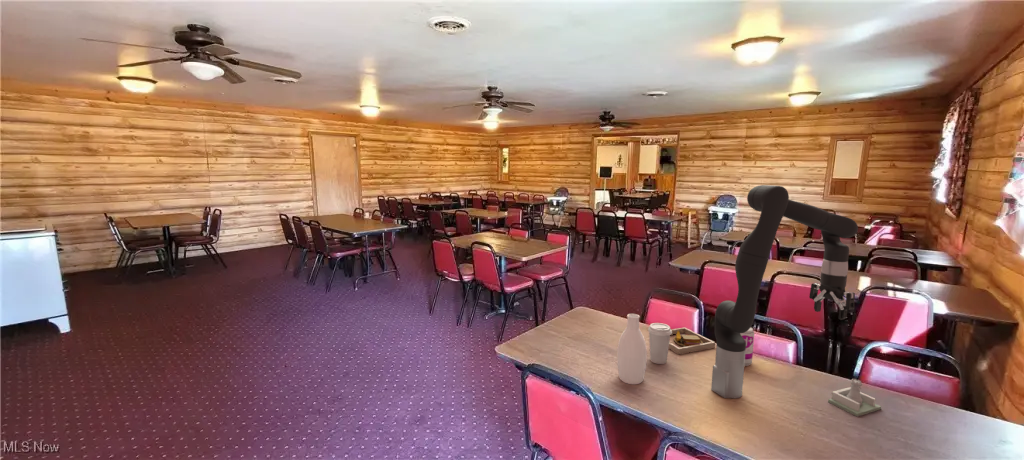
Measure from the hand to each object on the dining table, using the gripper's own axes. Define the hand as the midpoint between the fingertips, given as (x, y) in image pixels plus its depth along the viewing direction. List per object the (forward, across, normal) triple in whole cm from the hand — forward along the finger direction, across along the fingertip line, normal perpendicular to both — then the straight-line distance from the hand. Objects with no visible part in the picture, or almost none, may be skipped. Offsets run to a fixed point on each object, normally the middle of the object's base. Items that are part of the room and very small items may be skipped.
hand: (829, 315), depth 152 cm
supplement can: (+27, -23, -15) cm, 38 cm away
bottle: (+26, -25, -66) cm, 76 cm away
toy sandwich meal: (+27, -45, -22) cm, 57 cm away
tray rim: (+26, -46, -25) cm, 59 cm away
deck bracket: (+26, +14, -5) cm, 31 cm away
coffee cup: (+27, -35, -47) cm, 64 cm away
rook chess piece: (+26, +14, -5) cm, 30 cm away
